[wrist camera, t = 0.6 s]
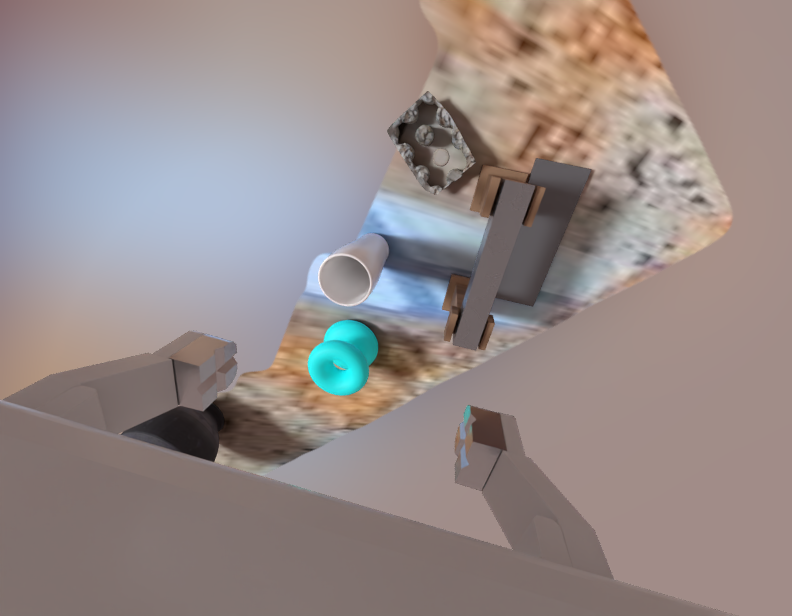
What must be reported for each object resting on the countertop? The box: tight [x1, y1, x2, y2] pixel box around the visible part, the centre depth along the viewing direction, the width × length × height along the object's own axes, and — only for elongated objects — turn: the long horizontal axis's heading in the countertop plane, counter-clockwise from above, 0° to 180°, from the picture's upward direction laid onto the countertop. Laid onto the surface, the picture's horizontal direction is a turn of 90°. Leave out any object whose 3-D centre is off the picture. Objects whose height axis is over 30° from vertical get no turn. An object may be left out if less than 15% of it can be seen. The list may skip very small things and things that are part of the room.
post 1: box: [442, 274, 495, 350], centre depth 46 cm, size 6×6×12 cm
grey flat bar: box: [495, 158, 591, 306], centre depth 46 cm, size 20×7×1 cm, turn 169°
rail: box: [453, 178, 535, 351], centre depth 37 cm, size 20×3×3 cm, turn 169°
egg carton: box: [387, 91, 476, 195], centre depth 42 cm, size 11×8×4 cm
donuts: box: [308, 320, 378, 395], centre depth 54 cm, size 10×10×10 cm
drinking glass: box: [318, 233, 389, 306], centre depth 44 cm, size 7×7×15 cm
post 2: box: [470, 165, 546, 227], centre depth 39 cm, size 6×6×12 cm
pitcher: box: [121, 403, 224, 462], centre depth 60 cm, size 17×21×30 cm
